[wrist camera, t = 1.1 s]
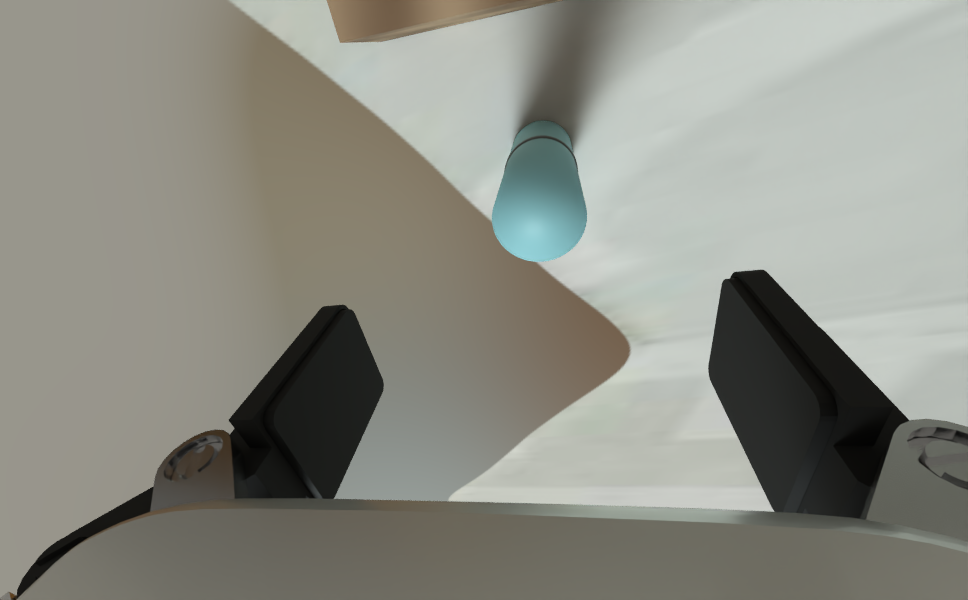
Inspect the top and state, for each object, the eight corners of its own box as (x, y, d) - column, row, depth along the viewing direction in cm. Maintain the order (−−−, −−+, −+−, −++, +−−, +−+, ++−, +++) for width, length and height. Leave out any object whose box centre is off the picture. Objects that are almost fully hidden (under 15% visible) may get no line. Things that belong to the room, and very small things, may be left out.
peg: (570, 114, 25) (586, 163, 15) (574, 178, 27) (590, 258, 18) (507, 125, 26) (483, 178, 16) (515, 186, 28) (498, 266, 18)
